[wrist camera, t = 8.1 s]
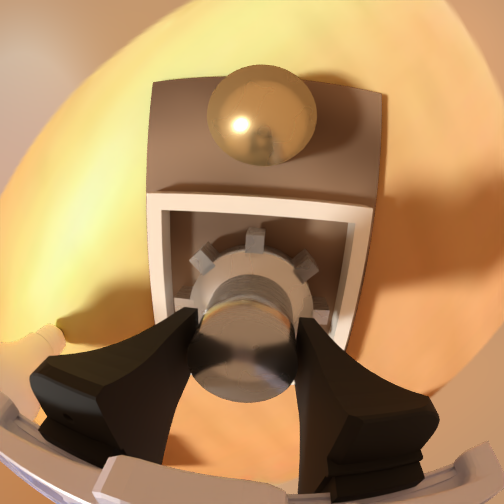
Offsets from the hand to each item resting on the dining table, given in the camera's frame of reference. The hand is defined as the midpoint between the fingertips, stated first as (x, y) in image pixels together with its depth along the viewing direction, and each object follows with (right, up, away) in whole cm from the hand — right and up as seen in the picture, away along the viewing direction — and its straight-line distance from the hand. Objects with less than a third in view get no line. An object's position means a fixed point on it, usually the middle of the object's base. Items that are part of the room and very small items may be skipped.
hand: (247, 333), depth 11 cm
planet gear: (0, +1, +3) cm, 3 cm away
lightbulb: (-16, -3, +7) cm, 18 cm away
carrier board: (0, +4, +3) cm, 5 cm away
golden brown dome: (+1, +10, +1) cm, 10 cm away
